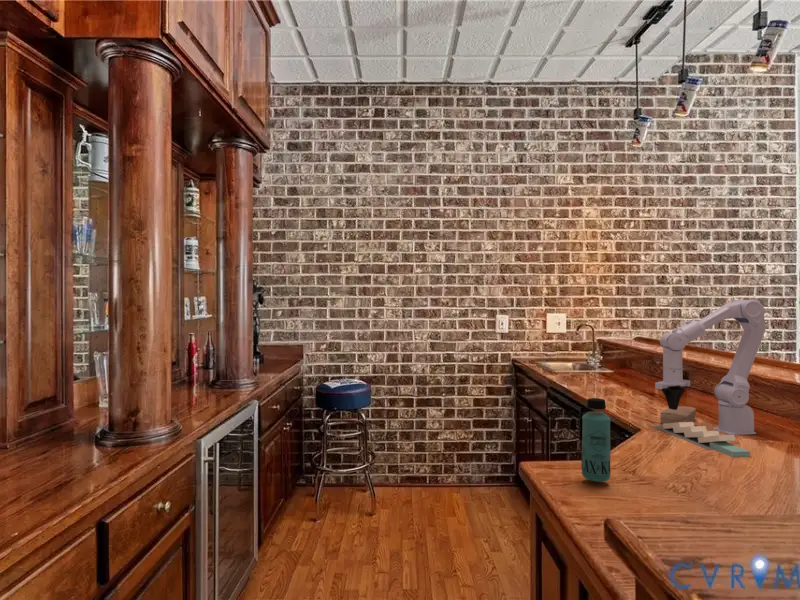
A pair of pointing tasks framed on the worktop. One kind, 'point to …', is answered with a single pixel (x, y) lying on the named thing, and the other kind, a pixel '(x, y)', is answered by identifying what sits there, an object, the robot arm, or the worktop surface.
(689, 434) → the ivory domino
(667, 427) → the ivory domino
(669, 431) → the mat
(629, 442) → the worktop surface
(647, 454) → the worktop surface
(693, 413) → the brick
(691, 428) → the ivory domino
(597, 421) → the beverage bottle
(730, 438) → the ivory domino
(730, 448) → the teal domino
